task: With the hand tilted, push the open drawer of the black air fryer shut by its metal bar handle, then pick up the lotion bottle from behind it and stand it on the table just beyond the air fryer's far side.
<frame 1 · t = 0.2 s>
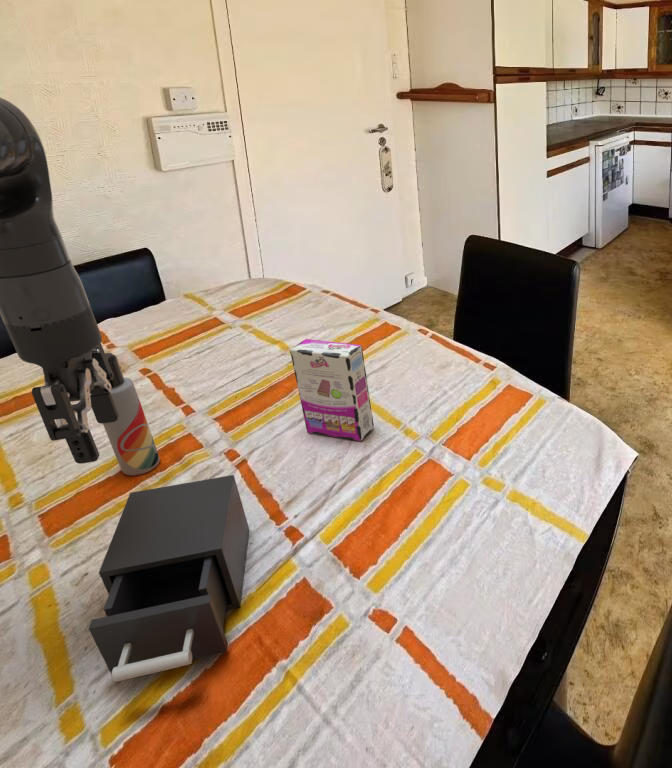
hand: (99, 440, 72), 20 cm above the table, tool pointing down, fingers open, 8 cm apart
drawer: (169, 607, 70), point 5 cm above the table, slide at 6.0 cm
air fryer: (193, 576, 81), on the table
candy bar box: (341, 431, 111), on the table
lotion bottle: (141, 466, 102), on the table
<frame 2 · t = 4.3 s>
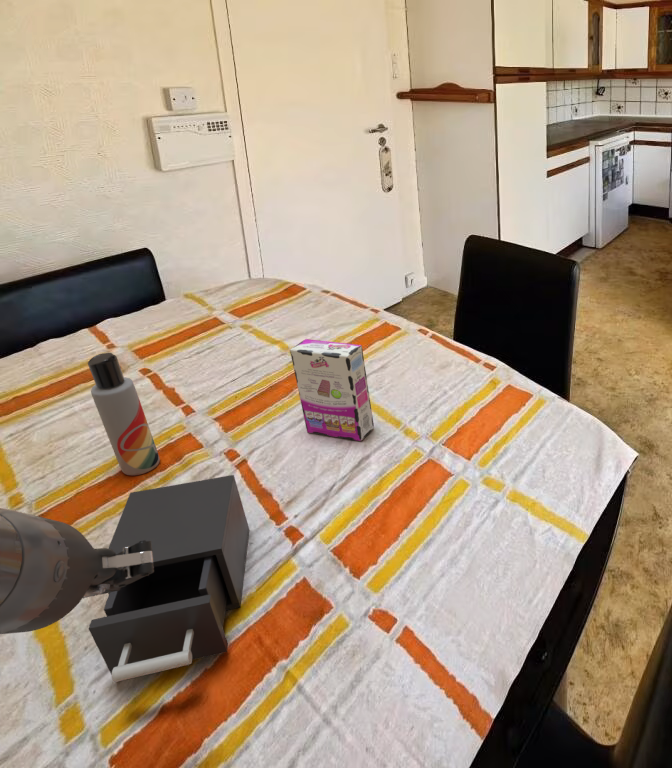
hand: (110, 580, 55), 18 cm above the table, tool tilted 45°, fingers closed
nothing on the table moved.
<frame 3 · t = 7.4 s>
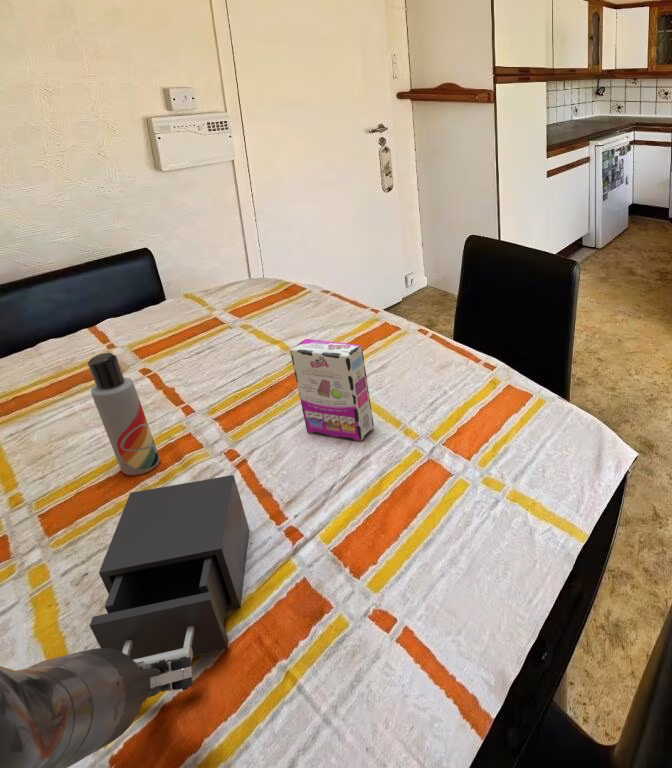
hand: (151, 675, 62), 5 cm above the table, tool tilted 45°, fingers closed
drawer: (169, 605, 70), point 5 cm above the table, slide at 5.6 cm, touching gripper
everything else where it was.
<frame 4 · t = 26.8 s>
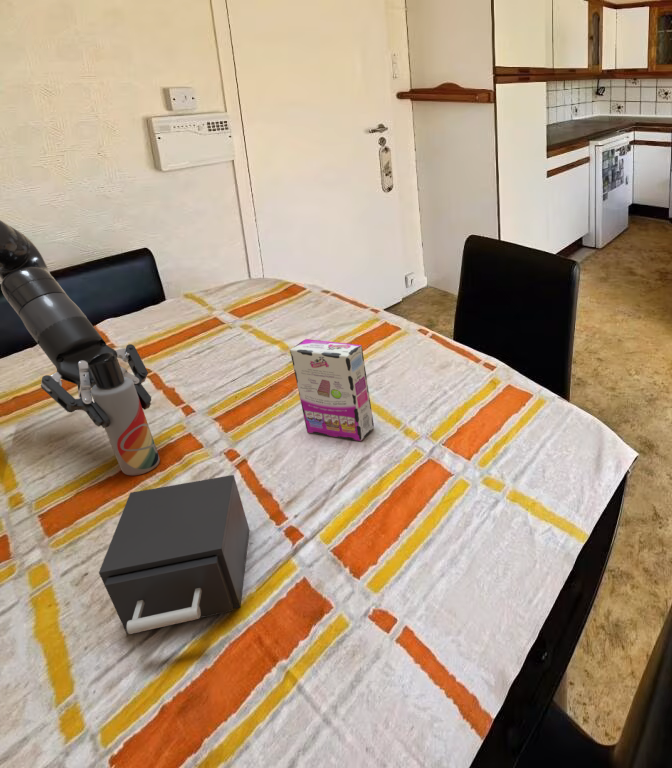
hand: (127, 415, 96), 10 cm above the table, tool tilted 45°, fingers closed on lotion bottle, 5 cm apart
drawer: (178, 569, 75), point 5 cm above the table, slide at 0.0 cm
lotion bottle: (141, 466, 102), on the table, touching gripper
everything else where it was.
when the fingers open (10 cm above the table, at t = 38.6 s): lotion bottle stays where it is, on the table.
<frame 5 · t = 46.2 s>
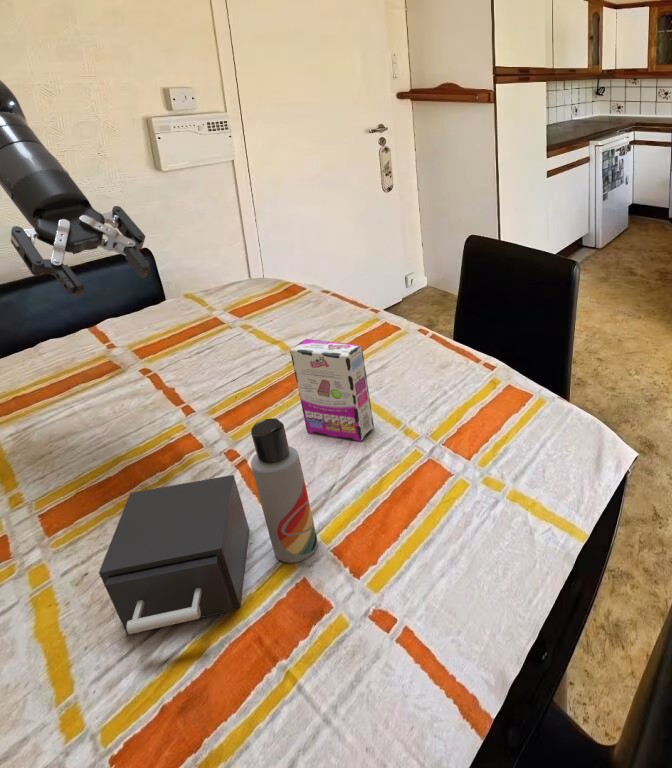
hand: (114, 283, 83), 33 cm above the table, tool tilted 45°, fingers open, 8 cm apart
lotion bottle: (296, 549, 85), on the table
everything else where it was.
at the end: drawer slide at 0.0 cm; lotion bottle inside the target area on the table beside the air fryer (0.3 cm from its centre), on the table; lotion bottle tilted 0° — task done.
